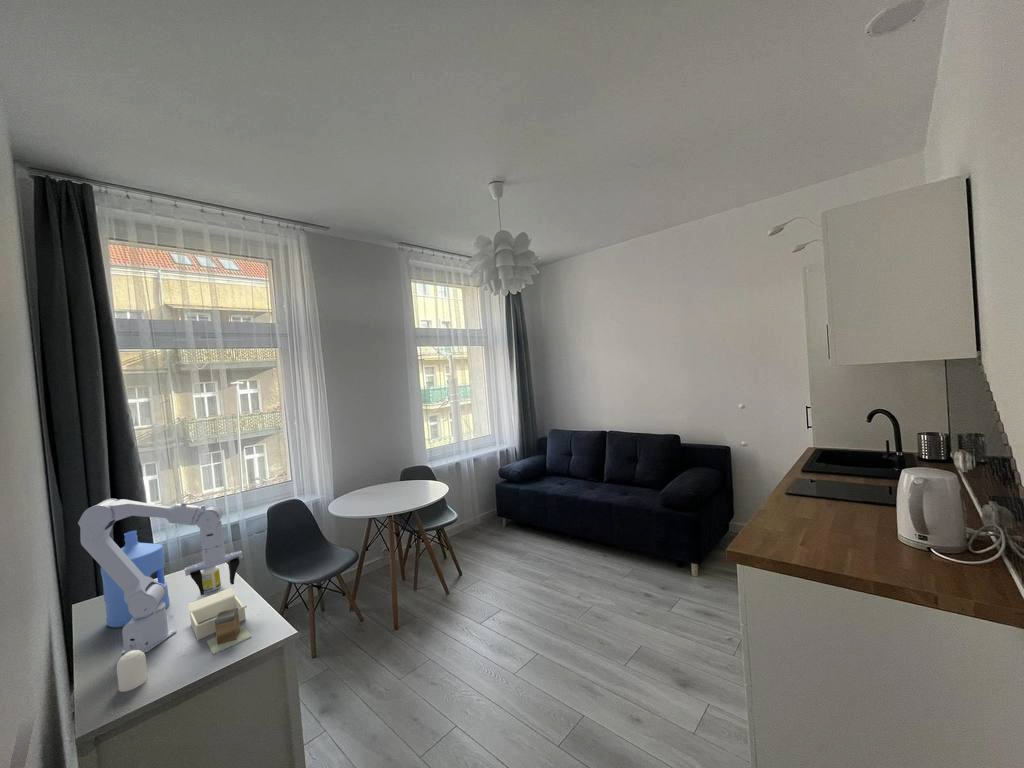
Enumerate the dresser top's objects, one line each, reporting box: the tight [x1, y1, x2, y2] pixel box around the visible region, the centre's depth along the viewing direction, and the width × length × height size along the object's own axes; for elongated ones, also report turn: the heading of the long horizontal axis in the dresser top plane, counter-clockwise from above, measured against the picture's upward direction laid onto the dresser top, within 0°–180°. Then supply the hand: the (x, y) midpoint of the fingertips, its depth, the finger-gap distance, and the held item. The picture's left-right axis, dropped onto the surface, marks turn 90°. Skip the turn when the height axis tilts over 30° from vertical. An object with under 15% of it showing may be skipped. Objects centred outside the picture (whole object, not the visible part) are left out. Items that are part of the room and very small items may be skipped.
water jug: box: [100, 530, 171, 628], centre depth 136 cm, size 16×16×28 cm
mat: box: [206, 624, 252, 655], centre depth 116 cm, size 9×9×1 cm
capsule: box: [116, 650, 149, 693], centre depth 101 cm, size 5×5×8 cm
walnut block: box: [215, 608, 241, 645], centre depth 116 cm, size 4×4×7 cm
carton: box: [187, 587, 248, 641], centre depth 126 cm, size 20×12×6 cm, turn 46°
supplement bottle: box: [201, 565, 222, 593], centre depth 150 cm, size 5×5×10 cm
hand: (217, 588), depth 127 cm, fingers open, 7 cm apart
